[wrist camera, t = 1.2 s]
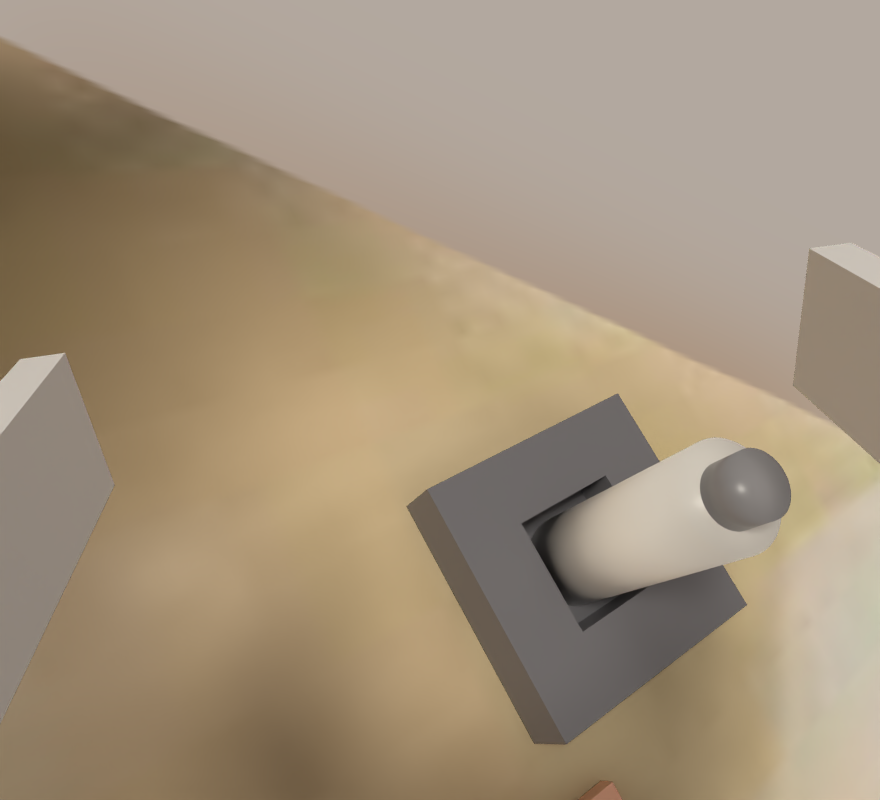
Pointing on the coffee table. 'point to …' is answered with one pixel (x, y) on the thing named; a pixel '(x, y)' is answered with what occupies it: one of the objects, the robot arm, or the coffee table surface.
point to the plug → (667, 522)
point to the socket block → (533, 589)
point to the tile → (602, 792)
